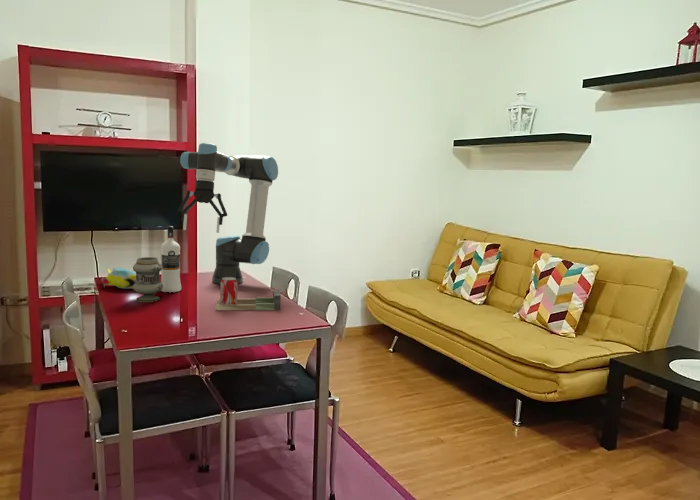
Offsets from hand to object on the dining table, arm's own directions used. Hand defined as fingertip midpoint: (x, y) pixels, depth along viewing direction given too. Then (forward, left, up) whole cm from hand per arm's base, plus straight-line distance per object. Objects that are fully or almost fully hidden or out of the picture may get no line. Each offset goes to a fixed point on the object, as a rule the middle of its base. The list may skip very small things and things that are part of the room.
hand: (201, 231), depth 237 cm
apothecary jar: (-5, -22, -31) cm, 38 cm away
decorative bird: (-33, -34, -31) cm, 57 cm away
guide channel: (+8, +20, -30) cm, 37 cm away
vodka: (-23, -15, -31) cm, 41 cm away
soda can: (+8, +12, -31) cm, 34 cm away
